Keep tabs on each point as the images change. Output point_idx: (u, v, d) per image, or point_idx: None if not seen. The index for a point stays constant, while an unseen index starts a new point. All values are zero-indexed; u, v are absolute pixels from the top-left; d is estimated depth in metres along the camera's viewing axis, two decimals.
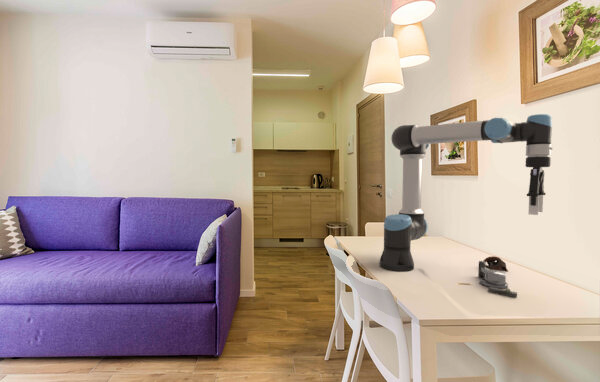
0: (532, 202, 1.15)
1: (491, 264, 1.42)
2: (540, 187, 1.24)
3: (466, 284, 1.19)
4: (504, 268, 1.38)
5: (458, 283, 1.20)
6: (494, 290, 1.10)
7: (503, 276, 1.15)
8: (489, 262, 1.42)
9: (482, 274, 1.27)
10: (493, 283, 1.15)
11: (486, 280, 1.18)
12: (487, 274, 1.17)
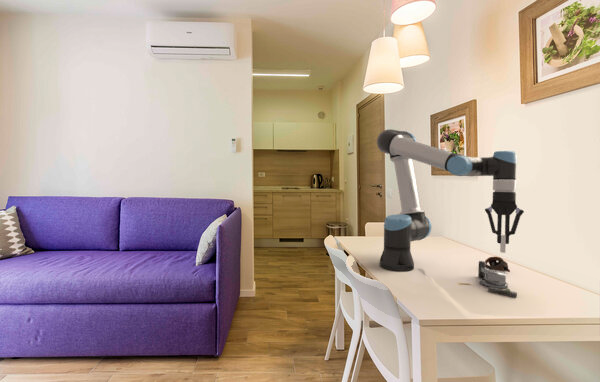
0: None
1: (493, 264, 1.42)
2: None
3: (466, 284, 1.19)
4: (506, 268, 1.38)
5: (458, 283, 1.20)
6: (494, 290, 1.10)
7: (503, 276, 1.15)
8: (491, 262, 1.41)
9: (482, 274, 1.27)
10: (493, 283, 1.15)
11: (486, 280, 1.18)
12: (487, 274, 1.17)
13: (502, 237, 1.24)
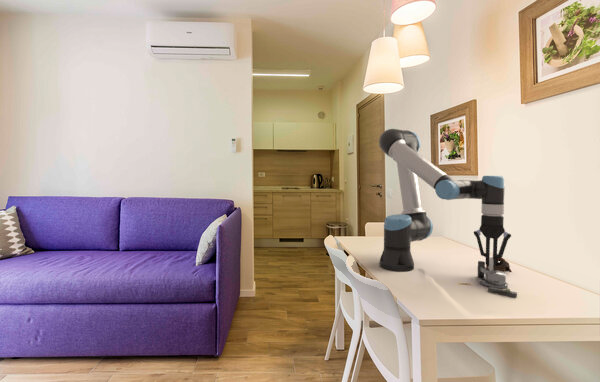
0: None
1: None
2: None
3: (466, 284, 1.19)
4: (507, 268, 1.38)
5: (458, 283, 1.20)
6: (494, 290, 1.10)
7: (503, 276, 1.15)
8: None
9: (481, 274, 1.27)
10: (493, 283, 1.15)
11: (486, 280, 1.18)
12: (487, 274, 1.17)
13: (490, 260, 1.26)
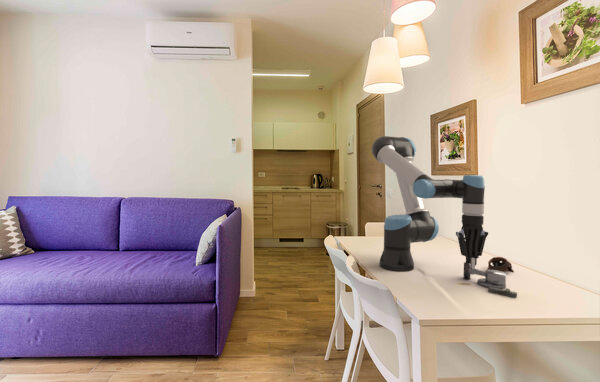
0: None
1: (496, 265, 1.41)
2: None
3: (466, 284, 1.19)
4: (509, 269, 1.38)
5: (458, 283, 1.20)
6: (494, 290, 1.10)
7: (505, 275, 1.16)
8: (494, 263, 1.41)
9: (469, 276, 1.24)
10: (501, 284, 1.15)
11: (492, 282, 1.16)
12: (494, 276, 1.15)
13: (472, 259, 1.26)
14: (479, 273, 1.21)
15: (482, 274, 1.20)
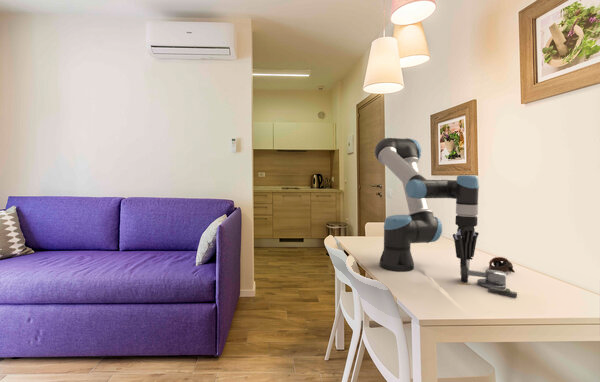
0: None
1: (497, 265, 1.41)
2: None
3: (466, 284, 1.19)
4: (510, 269, 1.37)
5: (458, 283, 1.20)
6: (494, 290, 1.10)
7: None
8: (495, 263, 1.41)
9: (467, 278, 1.22)
10: (504, 284, 1.15)
11: (496, 283, 1.15)
12: (498, 276, 1.15)
13: (467, 261, 1.24)
14: (479, 274, 1.19)
15: (482, 275, 1.19)
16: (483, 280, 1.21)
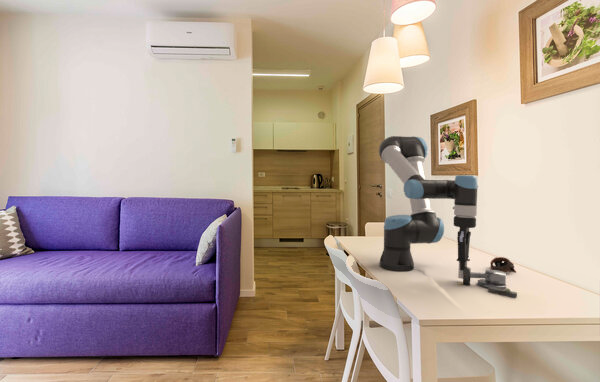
0: None
1: (498, 265, 1.41)
2: None
3: None
4: (512, 269, 1.37)
5: (458, 283, 1.20)
6: (494, 290, 1.10)
7: None
8: (496, 263, 1.40)
9: None
10: (505, 283, 1.16)
11: (500, 283, 1.15)
12: (501, 276, 1.15)
13: (466, 263, 1.21)
14: (481, 276, 1.17)
15: (484, 277, 1.17)
16: (483, 281, 1.19)
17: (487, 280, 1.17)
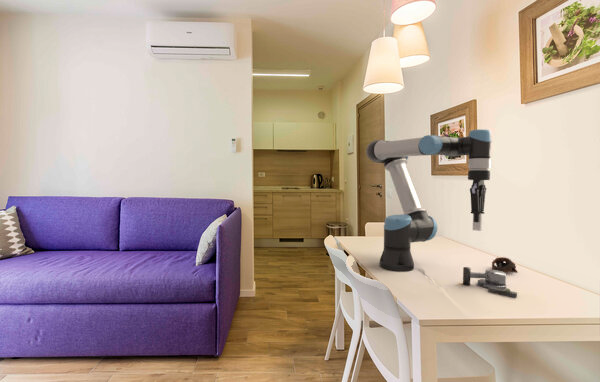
0: None
1: (500, 265, 1.40)
2: None
3: None
4: (513, 269, 1.37)
5: (458, 283, 1.20)
6: (494, 290, 1.10)
7: None
8: (498, 263, 1.40)
9: None
10: (505, 283, 1.16)
11: (500, 283, 1.15)
12: (501, 276, 1.15)
13: (481, 215, 1.25)
14: (481, 276, 1.17)
15: (484, 277, 1.17)
16: (483, 281, 1.19)
17: (487, 280, 1.17)
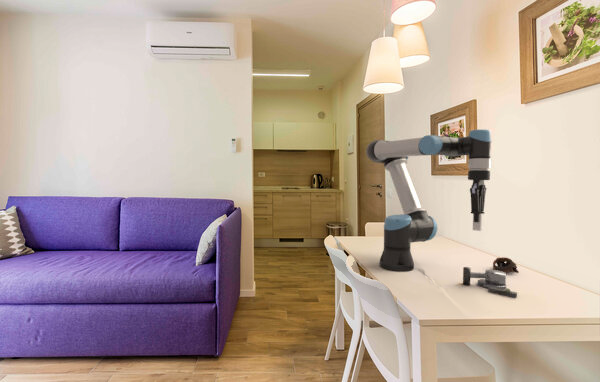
0: None
1: (501, 265, 1.40)
2: None
3: None
4: (514, 269, 1.37)
5: (458, 283, 1.20)
6: (494, 290, 1.10)
7: None
8: (499, 263, 1.40)
9: None
10: (505, 283, 1.16)
11: (500, 283, 1.15)
12: (501, 276, 1.15)
13: (481, 215, 1.25)
14: (481, 276, 1.17)
15: (484, 277, 1.17)
16: (483, 281, 1.19)
17: (487, 280, 1.17)
